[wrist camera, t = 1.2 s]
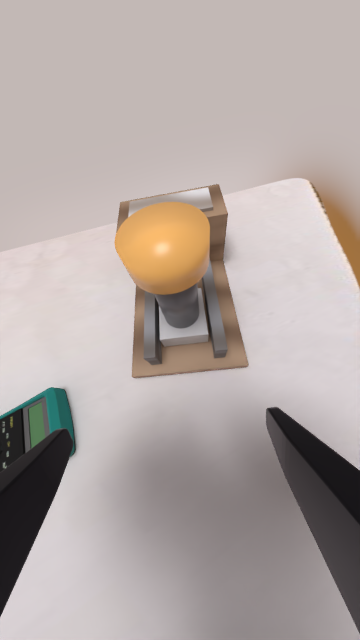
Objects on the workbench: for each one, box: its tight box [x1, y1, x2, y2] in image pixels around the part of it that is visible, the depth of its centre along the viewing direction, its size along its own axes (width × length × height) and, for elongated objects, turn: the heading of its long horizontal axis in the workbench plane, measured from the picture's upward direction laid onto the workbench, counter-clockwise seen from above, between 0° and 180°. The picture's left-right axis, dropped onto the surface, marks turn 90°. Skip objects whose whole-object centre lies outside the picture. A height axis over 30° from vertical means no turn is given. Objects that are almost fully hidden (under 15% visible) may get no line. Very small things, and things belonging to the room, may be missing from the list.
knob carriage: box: [115, 202, 210, 347], centre depth 17 cm, size 6×6×13 cm
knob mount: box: [116, 184, 248, 378], centre depth 22 cm, size 21×13×8 cm, turn 4°
